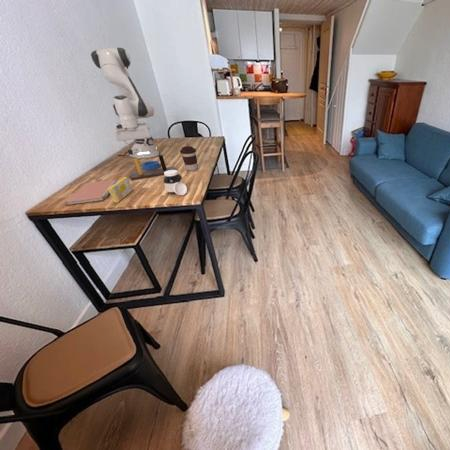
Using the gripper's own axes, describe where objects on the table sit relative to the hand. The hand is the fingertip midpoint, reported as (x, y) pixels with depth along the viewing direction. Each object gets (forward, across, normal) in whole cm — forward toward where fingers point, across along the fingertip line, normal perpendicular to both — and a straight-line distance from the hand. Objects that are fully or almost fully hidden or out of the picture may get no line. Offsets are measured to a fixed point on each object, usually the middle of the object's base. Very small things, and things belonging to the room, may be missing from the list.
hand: (137, 146), depth 166 cm
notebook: (+16, +27, +31) cm, 44 cm away
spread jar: (+16, -12, +57) cm, 60 cm away
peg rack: (+16, -4, +16) cm, 23 cm away
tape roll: (+16, -4, 0) cm, 16 cm away
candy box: (+16, +14, +46) cm, 51 cm away
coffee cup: (+16, -28, +19) cm, 37 cm away
